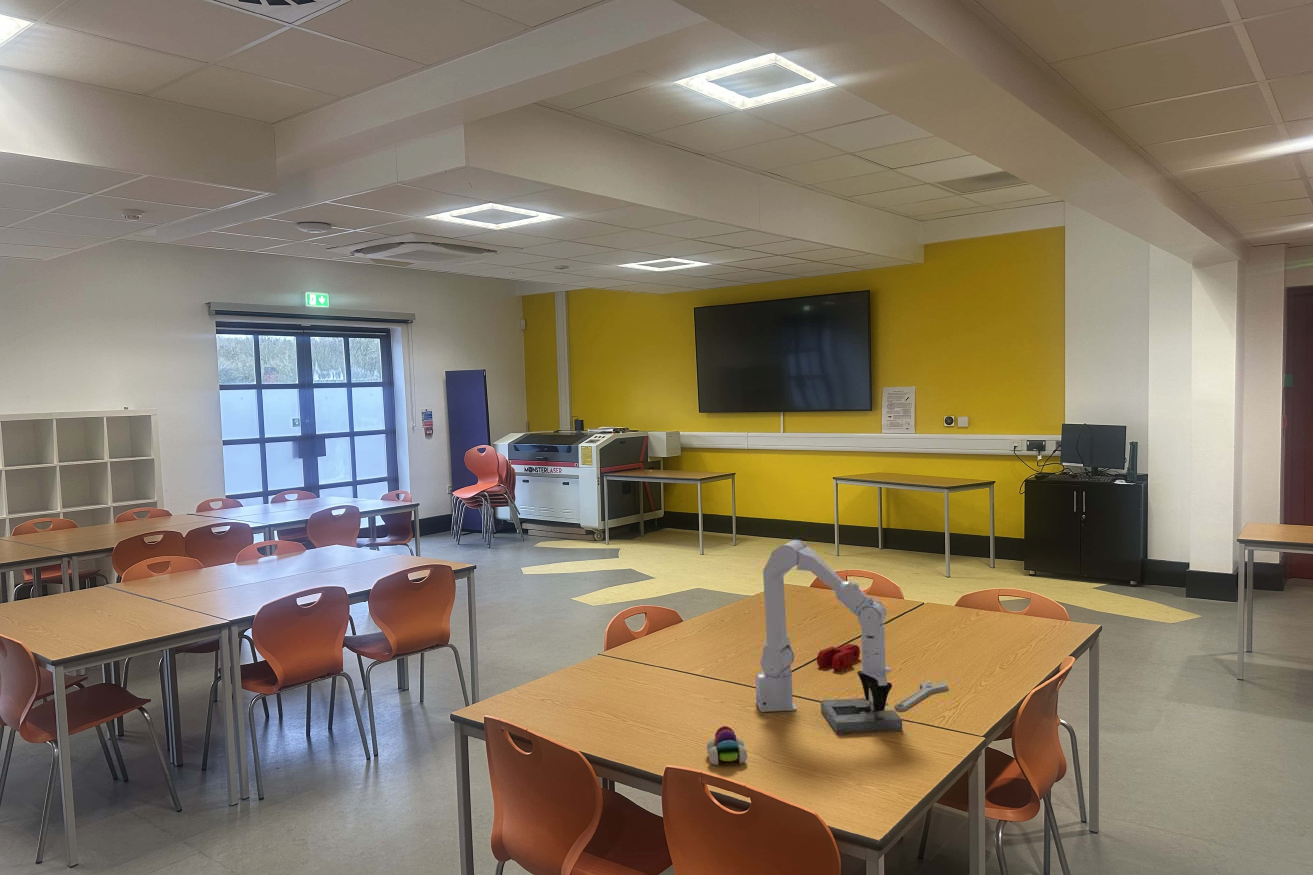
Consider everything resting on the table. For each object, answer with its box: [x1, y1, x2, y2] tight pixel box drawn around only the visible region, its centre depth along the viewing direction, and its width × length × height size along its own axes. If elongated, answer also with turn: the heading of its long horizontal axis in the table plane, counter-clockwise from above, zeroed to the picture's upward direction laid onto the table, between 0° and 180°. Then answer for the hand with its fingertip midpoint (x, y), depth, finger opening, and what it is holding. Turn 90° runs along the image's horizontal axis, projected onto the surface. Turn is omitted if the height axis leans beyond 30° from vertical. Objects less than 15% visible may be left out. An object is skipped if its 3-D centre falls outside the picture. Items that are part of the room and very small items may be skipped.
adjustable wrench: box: [894, 680, 948, 712], centre depth 231 cm, size 25×6×2 cm, turn 134°
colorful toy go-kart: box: [706, 725, 748, 766], centre depth 194 cm, size 8×10×7 cm
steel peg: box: [869, 688, 875, 712], centre depth 215 cm, size 4×4×8 cm
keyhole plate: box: [820, 697, 903, 735], centre depth 215 cm, size 16×16×3 cm
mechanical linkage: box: [816, 643, 861, 672], centre depth 262 cm, size 16×7×5 cm, turn 134°
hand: (874, 705), depth 215 cm, fingers open, 7 cm apart
